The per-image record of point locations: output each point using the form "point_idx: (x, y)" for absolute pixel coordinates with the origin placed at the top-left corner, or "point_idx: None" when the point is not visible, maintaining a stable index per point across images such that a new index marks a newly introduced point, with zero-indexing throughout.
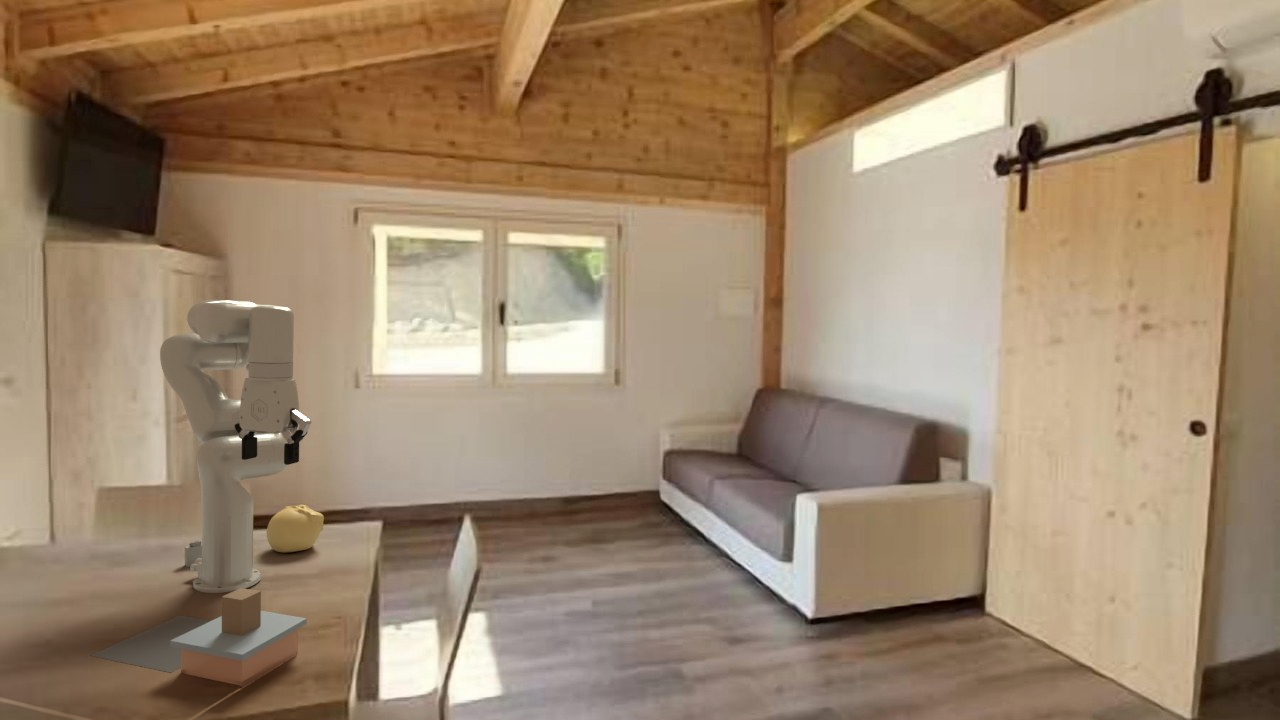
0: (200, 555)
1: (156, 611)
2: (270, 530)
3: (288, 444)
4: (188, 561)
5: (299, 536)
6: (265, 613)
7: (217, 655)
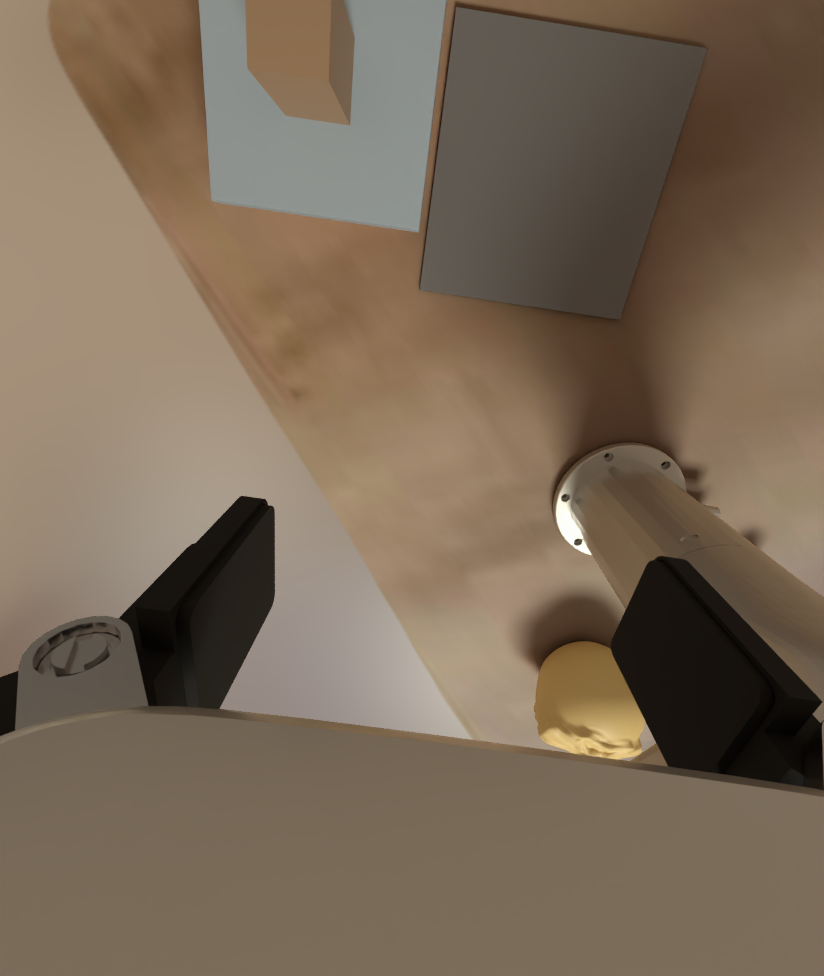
0: None
1: (688, 338)
2: None
3: (145, 621)
4: None
5: (558, 670)
6: (329, 204)
7: None
